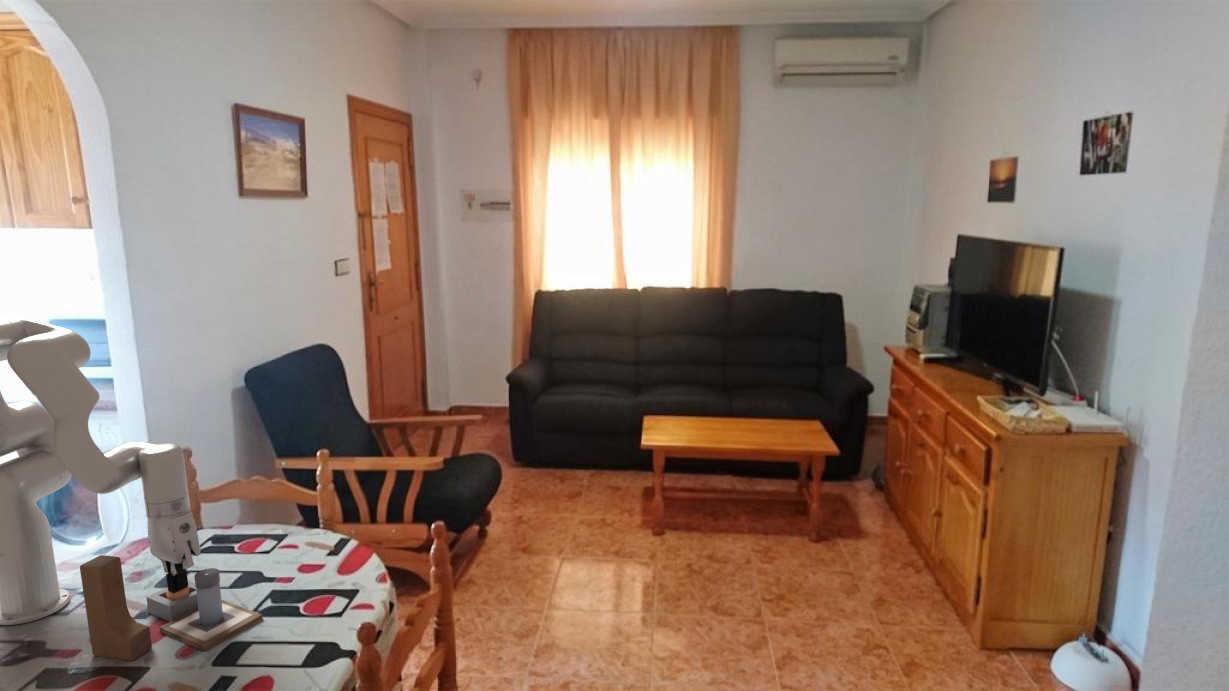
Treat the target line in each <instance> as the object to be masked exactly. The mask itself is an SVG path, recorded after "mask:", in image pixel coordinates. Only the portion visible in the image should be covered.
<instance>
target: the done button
mask: <svg viewBox="0 0 1229 691" xmlns="http://www.w3.org/2000/svg"><path fill="white" fill-rule="evenodd" d="M187 594H190V592H189V586H188V587H187V588H184V589H182V590H180V591H178V592H176V593H172V592H169V591H168V590H167V591H166V595H167V599H169V600H171V601H175V600H177V599H179V598H181V597H183V596H185V595H187Z"/></svg>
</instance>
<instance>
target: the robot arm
mask: <svg viewBox="0 0 1229 691" xmlns="http://www.w3.org/2000/svg"><path fill="white" fill-rule="evenodd" d="M90 358H91V348H90V345H89V343H88V341H86V339H85V338H84V336H83V337H82V335H80V334H78V333H77V332H75V331H73V330H70V329H67V328H64V327H60V326H56V325H53V324H48V323H44V322H40V321H37V320H32V319H28V318H25V317H21V316H20V317H19V316H2V317H0V362H4V361H7V362H8V365H9V366H10V368H11V369H12V371H13V372H14V373H15V374H16V376H17V377H18V378H19V379H20V380H21V382H22V383H23V384H24V385H25V386H26V388H27V389H28V390H29V391H30V392H31V394H32V395H33V396H34V397H35V398H36V399H37V401H38V402H39V403H40V404H41V405H40V404H38V403H36V402H34V401H28V400H20V401H13V402H10V403H7V402H6V401H5V398H4V397H3V395H2V393H1V391H0V458H1V457H4V456H6V455H9V454H12V453H14V452H16V454H17V455H18V457H15V458H12V459H10V460H7V461H5V462H3V463H0V626H13V625H15V626H16V625H20V624H25V623H26V624H27V623H30V622H31V623H32V622H33V621H38V620H40V619H43V618H46V617H48V616H50V615H53V614H54V613H56V612H58V611H60V610H61V609H63V608H64V607H65V606H66V605H67V604H68V603H69V602H70V600H71V595H70V592H69V591H68V590H67V589H65V588H60V585H59V578H58V571H57V566H56V565H57V564H56V558H55V553H54V545H53V539H52V532H51V527H50V524H49V520H48V518H47V515H46V514H45V513H44V512H43V511H42V510H41V509H40V508H39V506H38V504H37V501H39V500H41V499H42V498H45V497H47V496H49V495H51V494H53V493H54V492H56V491H58V490H61V489H62V488H63V487H65V486H66V485H67V484H68V483H69V482H70V480H71V479H72V477H73V478H74V479H75V480H76V482H78V483H79V485H80V486H82V487H83V488H84V489H86V490H87V491H89V492H90V493H94V494H98V495H106V494H109V493H113V492H115V491H117V490H119V489H121V488H123V487H125V486H126V485H128V484H130V483H132V482H134V481H137V480H141V485H142V491H143V492H142V493H143V500H144V507H145V517H146V518H147V535H148V536H147V538H148V545H149V551H150V553H151V555H152V556H154V557H155V558H156V559H158V560H159V561H161V563H162V567H163V571H164V573H165V577H166V583H167V584H166V585H167V587H168V591H169V592H172V593H176V592H178V591H180V590H182V589H184V588H187V587H188V581H189V580H188V572H187V570H188V569H190V568H191V567H194V566H195V564H194V563H195V562H194V560H193V557H198V556H200V555H201V545H200V540H199V535H198V529H197V525H196V521H195V518H194V514H193V512H192V511H191V510H190V509H191V504H190V503H191V502H190V494H189V488H188V478H187V471H186V470H187V469H186V463H185V462H186V461H185V455H184V450H183V448H182V447H181V445H179V444H176V443H170V442H169V443H166V442H165V443H158V444H155V443H150V442H149V443H148V442H144V441H138V440H137V441H136V440H134V441H133V440H132V441H131V440H130V441H128V442H124V443H122V444H120V445H117V446H115V447H112V448H111V449H108V450H106V451H104V452H103V451H102V450H101V449H100V448H99V447H98V445H97V444H96V443H95V441H94V439H93V437H92V436H91V433H90V430H89V429H90V428H89V421H90V417H91V416H90V415H91V413H92V412H93V409H94V408H95V406H96V405H97V404H98V403H99V401H100V393H99V392H98V390H97V389H96V388H95V387H94V385H93V384H92V383H91V382H90V380H88V378H87V377H86V376H85V374H84V373H83V372H82V371H81V370H80V368H82V367H83V366H86V364H87V363H88V362H89V361H90Z"/></svg>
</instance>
